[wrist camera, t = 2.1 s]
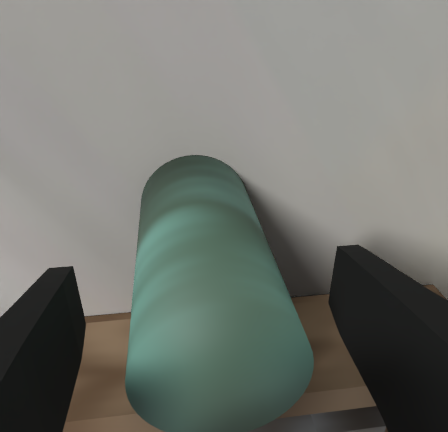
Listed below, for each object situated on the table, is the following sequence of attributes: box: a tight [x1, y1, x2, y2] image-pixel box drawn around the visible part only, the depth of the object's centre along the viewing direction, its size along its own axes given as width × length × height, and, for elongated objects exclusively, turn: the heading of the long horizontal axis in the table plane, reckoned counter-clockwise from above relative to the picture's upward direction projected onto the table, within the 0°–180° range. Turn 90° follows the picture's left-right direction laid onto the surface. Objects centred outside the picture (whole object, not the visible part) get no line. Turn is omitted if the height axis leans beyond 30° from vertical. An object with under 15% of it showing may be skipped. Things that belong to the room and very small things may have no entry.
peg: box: [125, 155, 314, 432], centre depth 12 cm, size 4×4×8 cm
